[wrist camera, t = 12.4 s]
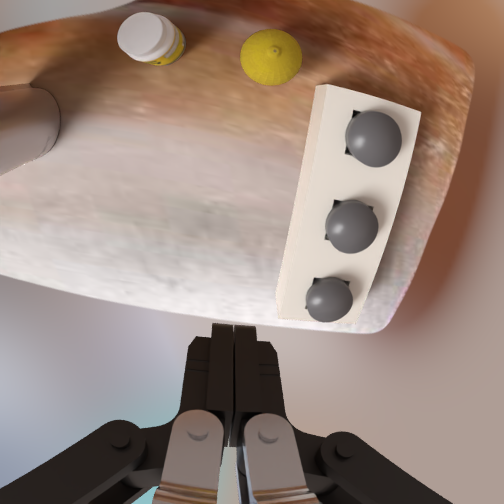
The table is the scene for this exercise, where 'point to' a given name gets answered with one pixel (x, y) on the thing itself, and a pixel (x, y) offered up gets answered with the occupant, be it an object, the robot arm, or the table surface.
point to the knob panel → (340, 188)
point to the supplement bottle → (151, 39)
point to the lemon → (271, 57)
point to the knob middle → (351, 226)
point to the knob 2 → (373, 138)
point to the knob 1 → (328, 299)
